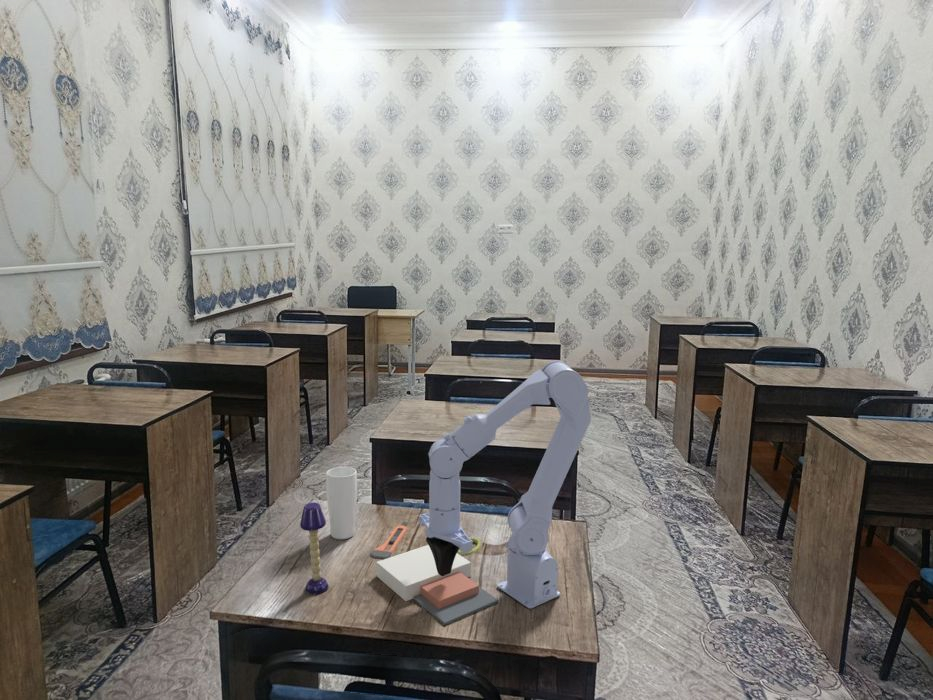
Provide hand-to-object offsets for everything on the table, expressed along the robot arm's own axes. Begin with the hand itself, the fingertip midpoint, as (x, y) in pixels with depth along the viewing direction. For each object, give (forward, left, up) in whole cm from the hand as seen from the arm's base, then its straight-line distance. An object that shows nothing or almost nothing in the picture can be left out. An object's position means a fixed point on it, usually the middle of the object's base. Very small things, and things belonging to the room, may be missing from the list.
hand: (444, 573), depth 117 cm
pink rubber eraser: (-2, 0, -3) cm, 4 cm away
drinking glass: (+32, +5, -4) cm, 33 cm away
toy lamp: (+16, +19, -4) cm, 25 cm away
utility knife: (+25, -3, -4) cm, 25 cm away
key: (+14, -14, -4) cm, 20 cm away
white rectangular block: (+7, 0, -4) cm, 8 cm away
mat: (-4, 0, -4) cm, 5 cm away
